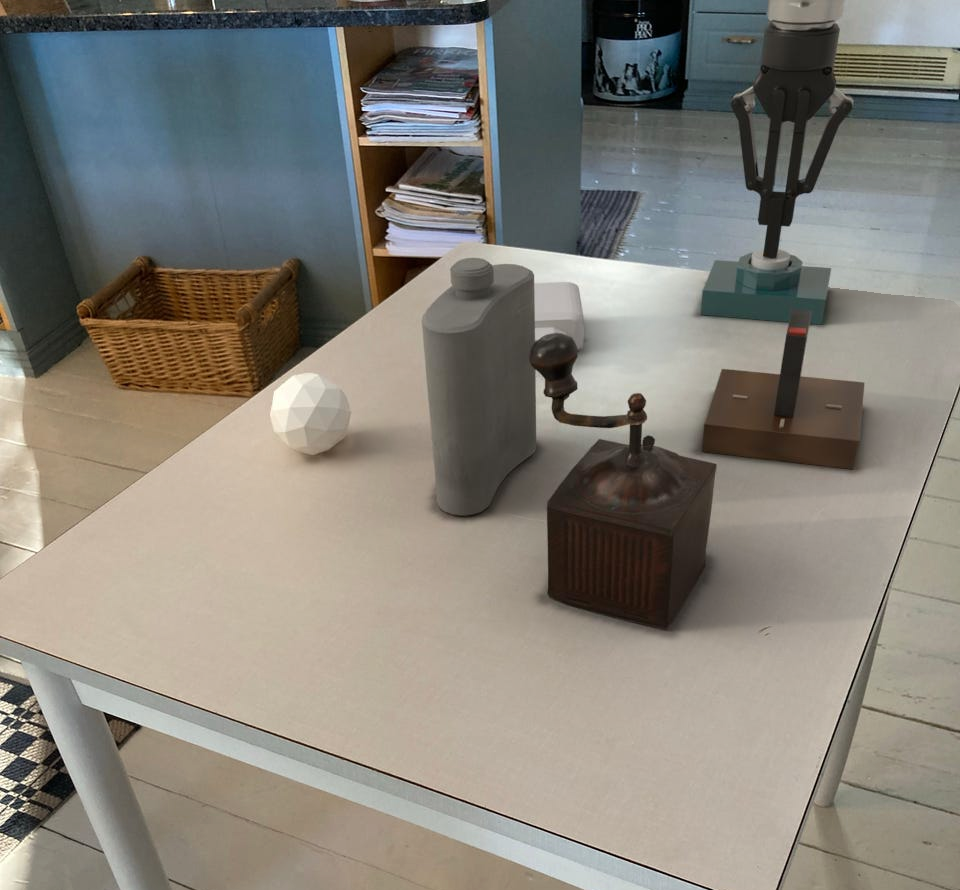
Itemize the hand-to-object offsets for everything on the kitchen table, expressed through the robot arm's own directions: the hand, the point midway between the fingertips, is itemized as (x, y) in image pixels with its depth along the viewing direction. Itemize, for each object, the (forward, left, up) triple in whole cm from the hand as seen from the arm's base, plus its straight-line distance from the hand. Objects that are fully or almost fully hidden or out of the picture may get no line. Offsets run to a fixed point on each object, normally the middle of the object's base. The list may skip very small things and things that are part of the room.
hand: (770, 252), depth 121 cm
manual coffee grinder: (+7, +58, -6) cm, 59 cm away
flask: (+21, +46, -6) cm, 51 cm away
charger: (+23, +18, -6) cm, 30 cm away
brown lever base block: (-5, +31, -6) cm, 32 cm away
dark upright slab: (-5, +31, -3) cm, 32 cm away
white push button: (0, 0, -2) cm, 2 cm away
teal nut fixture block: (0, 0, -6) cm, 6 cm away
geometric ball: (+39, +45, -6) cm, 60 cm away
